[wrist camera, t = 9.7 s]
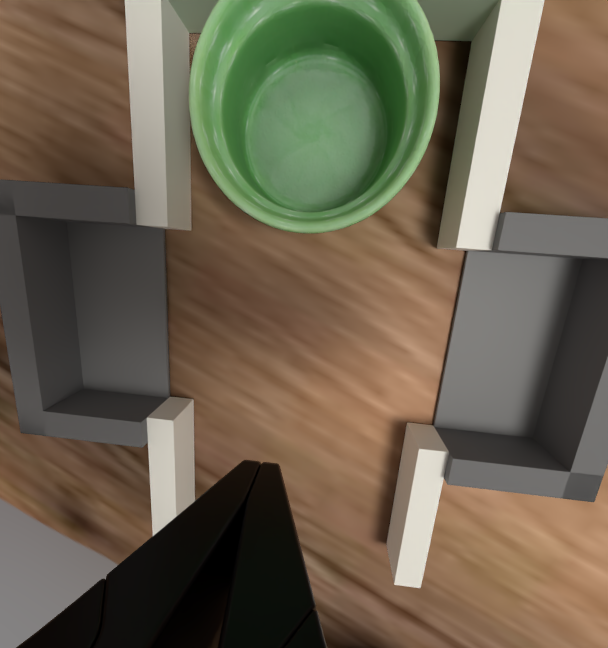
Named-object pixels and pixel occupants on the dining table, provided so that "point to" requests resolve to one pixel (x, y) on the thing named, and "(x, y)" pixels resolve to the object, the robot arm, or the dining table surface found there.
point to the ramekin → (313, 106)
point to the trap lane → (455, 234)
